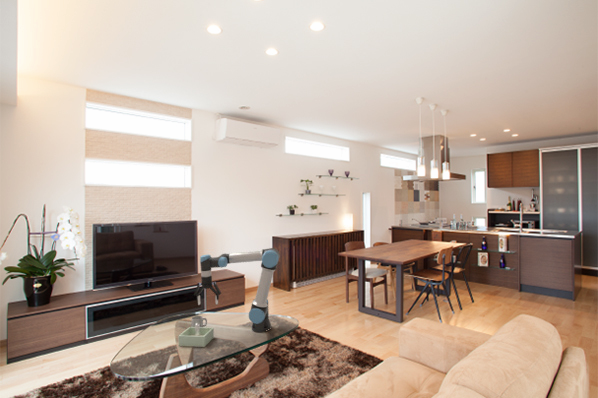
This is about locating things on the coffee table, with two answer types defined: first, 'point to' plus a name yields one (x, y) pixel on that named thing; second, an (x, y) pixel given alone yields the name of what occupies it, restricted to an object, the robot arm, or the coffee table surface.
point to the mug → (198, 321)
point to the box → (196, 337)
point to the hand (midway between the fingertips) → (208, 304)
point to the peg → (197, 329)
